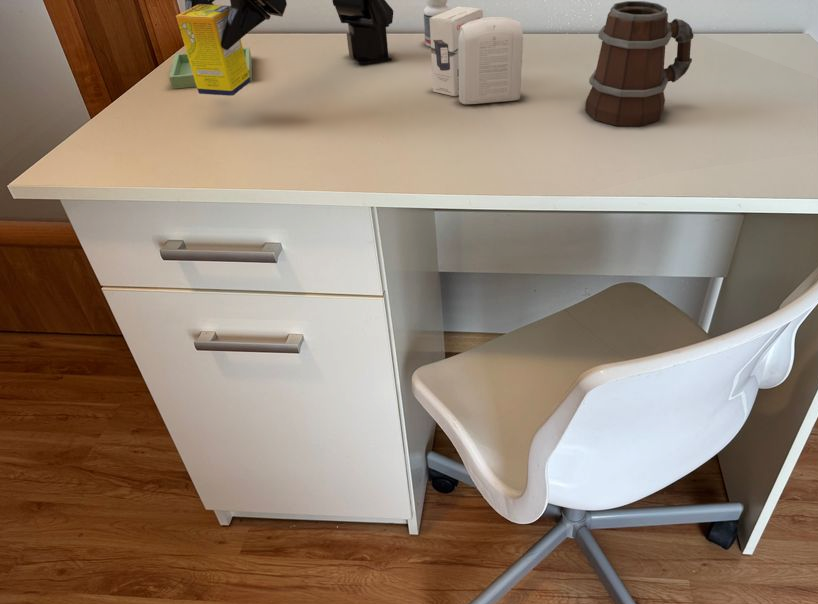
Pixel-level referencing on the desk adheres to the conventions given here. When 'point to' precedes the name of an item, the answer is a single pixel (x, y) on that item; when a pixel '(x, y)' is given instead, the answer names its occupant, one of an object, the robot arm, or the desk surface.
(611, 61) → the mug
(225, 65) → the supplement box
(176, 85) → the green tray
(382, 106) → the desk surface
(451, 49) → the ink box
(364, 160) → the desk surface
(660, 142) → the desk surface
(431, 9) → the pill bottle
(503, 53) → the white rounded box
